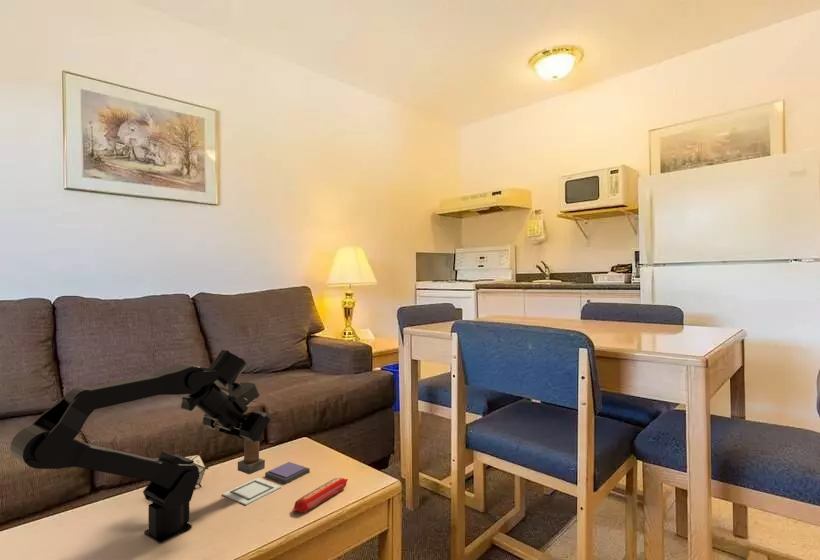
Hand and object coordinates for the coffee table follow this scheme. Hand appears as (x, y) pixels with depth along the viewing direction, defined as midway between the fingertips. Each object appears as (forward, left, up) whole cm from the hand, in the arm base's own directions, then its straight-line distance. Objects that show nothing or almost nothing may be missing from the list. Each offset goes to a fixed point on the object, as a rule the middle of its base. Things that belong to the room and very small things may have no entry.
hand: (256, 438), depth 105 cm
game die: (-8, +15, -13) cm, 21 cm away
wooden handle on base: (-2, 0, -7) cm, 7 cm away
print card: (-1, 0, -12) cm, 13 cm away
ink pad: (+10, 0, -12) cm, 16 cm away
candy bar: (+5, -17, -13) cm, 22 cm away
